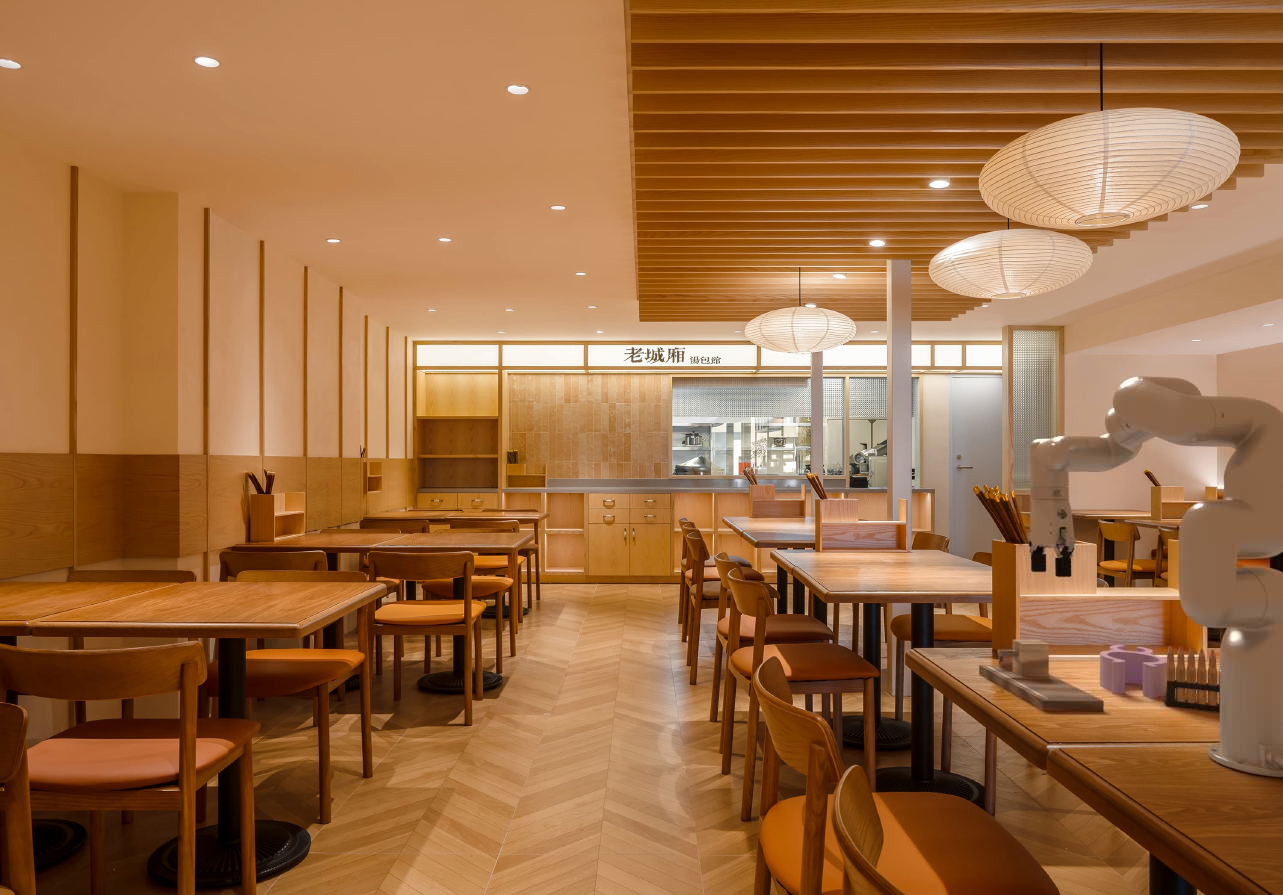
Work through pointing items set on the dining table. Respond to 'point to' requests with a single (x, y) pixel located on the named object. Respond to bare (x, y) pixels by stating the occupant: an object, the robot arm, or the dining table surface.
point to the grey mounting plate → (1041, 689)
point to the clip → (1133, 670)
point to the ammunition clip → (1192, 682)
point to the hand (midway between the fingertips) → (1050, 574)
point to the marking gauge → (1028, 657)
